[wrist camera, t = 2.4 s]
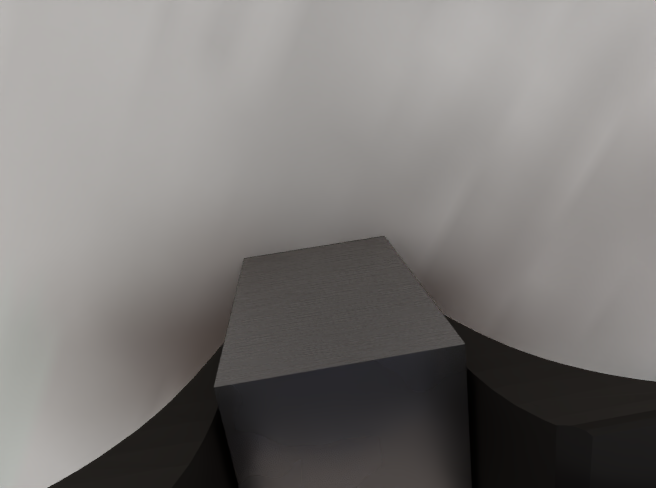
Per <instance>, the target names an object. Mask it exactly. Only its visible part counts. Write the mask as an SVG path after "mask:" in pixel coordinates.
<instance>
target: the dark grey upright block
mask: <svg viewBox="0 0 656 488" xmlns="http://www.w3.org/2000/svg"><path fill="white" fill-rule="evenodd" d="M214 391H215V395H216V399H217V403H218V407H219V411H220V415H221V419H222V423H223V427H224V431H225V435H226V438H227V442H228V446H229V450H230V454H231V458H232V462H233V466H234V470H235V474H236V478H237V482H238V486H239V488H472V481H471V459H470V437H469V415H468V393H467V371H466V349H465V343H464V342H463V340H462V339H461V338H460V336H459V335H458V334H457V332H456V331H455V330H454V328H453V327H452V326H451V324H450V323H449V322H448V320H447V319H446V318H445V316H444V315H443V314H442V312H441V311H440V310H439V308H438V307H437V306H436V304H435V303H434V302H433V300H432V299H431V298H430V296H429V295H428V294H427V292H426V291H425V290H424V288H423V287H422V286H421V284H420V283H419V282H418V280H417V279H416V278H415V276H414V275H413V274H412V272H411V271H410V270H409V268H408V267H407V266H406V264H405V263H404V262H403V260H402V259H401V258H400V256H399V255H398V254H397V252H396V251H395V250H394V248H393V247H392V246H391V244H390V243H389V242H388V240H387V239H386V238H385V236H382V237H376V238H370V239H363V240H357V241H351V242H344V243H338V244H332V245H326V246H319V247H313V248H307V249H301V250H294V251H288V252H282V253H275V254H269V255H263V256H257V257H250V258H244V261H243V265H242V269H241V273H240V278H239V282H238V286H237V290H236V295H235V299H234V303H233V307H232V312H231V316H230V320H229V324H228V329H227V333H226V337H225V341H224V346H223V350H222V354H221V358H220V363H219V367H218V371H217V375H216V380H215V384H214Z"/></svg>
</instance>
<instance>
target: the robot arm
mask: <svg viewBox="0 0 656 488" xmlns="http://www.w3.org/2000/svg"><path fill="white" fill-rule="evenodd" d="M444 316H445V315H444ZM445 318H446V319H447V320H448V322H449V323H450V324H451V326H452V327H453V328H454V330H455V331H456V332H457V334H458V335H459V336H460V338H461V339H462V340H463V342H464V343H465V349H466V371H467V393H468V415H469V437H470V459H471V481H472V488H656V382H654V381H645V380H638V379H632V378H626V377H620V376H614V375H608V374H603V373H598V372H593V371H589V370H584V369H580V368H576V367H572V366H568V365H564V364H560V363H557V362H553V361H550V360H546V359H543V358H540V357H537V356H534V355H531V354H528V353H525V352H522V351H519V350H517V349H514V348H512V347H509V346H507V345H504V344H502V343H500V342H497V341H495V340H493V339H490V338H488V337H486V336H484V335H482V334H480V333H478V332H476V331H474V330H472V329H470V328H468V327H466V326H464V325H462V324H460V323H458V322H456V321H454V320H452V319H451V318H449V317H447V316H445ZM223 346H224V343H223V344H222V346H221V347H220V348H219V349H218V350H217V351H216V353H215V354H214V355H213V356H212V357H211V359H210V360H209V361H208V362H207V363H206V364H205V366H204V367H203V368H202V369H201V370H200V371H199V372H198V374H197V375H196V376H195V377H194V378H193V379H192V380H191V381H190V382H189V383H188V384H187V385H186V386H185V387H184V388H183V389H182V390H181V391H180V392H179V393H178V394H177V395H176V396H175V397H174V398H173V399H172V400H171V401H170V402H169V403H168V404H167V405H166V406H165V407H164V408H163V409H162V410H161V411H160V412H158V413H157V414H156V415H155V416H154V417H153V418H151V419H150V420H149V421H148V422H147V423H145V424H144V425H143V426H142V427H140V428H139V429H138V430H137V431H135V432H134V433H133V434H131V435H130V436H128V437H127V438H126V439H124V440H123V441H121V442H120V443H119V444H117V445H116V446H114V447H113V448H112V449H110V450H109V451H107V452H106V453H105V454H103V455H102V456H100V457H99V458H97V459H96V460H94V461H92V462H91V463H89V464H88V465H86V466H84V467H83V468H81V469H80V470H78V471H76V472H74V473H73V474H71V475H69V476H68V477H66V478H64V479H62V480H61V481H59V482H57V483H55V484H54V485H52V486H50V487H48V488H239V486H238V482H237V478H236V474H235V470H234V466H233V462H232V458H231V454H230V450H229V446H228V442H227V438H226V435H225V431H224V427H223V423H222V419H221V415H220V411H219V407H218V403H217V399H216V395H215V391H214V384H215V380H216V375H217V371H218V367H219V363H220V358H221V354H222V350H223Z"/></svg>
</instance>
